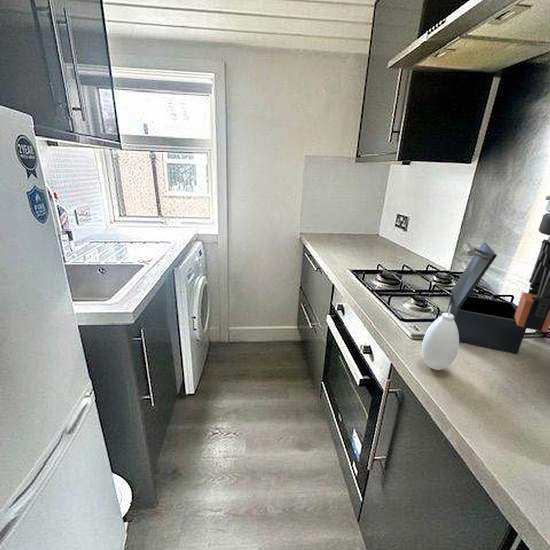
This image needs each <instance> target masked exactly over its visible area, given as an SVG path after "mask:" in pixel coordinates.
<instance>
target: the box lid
mask: <svg viewBox="0 0 550 550" xmlns="http://www.w3.org/2000/svg"><path fill="white" fill-rule="evenodd" d="M462 248H463V249H464V251H465V254H466V255H467V256H468V257H472V259H471V260H470V261H469V263H468V264H467V266H466V268H465V269H464V270H463V271H462V273H461V275H460V277H459V278H458V280H457V281H456V282H455V284H454V286H453V287H452V289H451V295H453V298H454V302H455V305H456V308H457V309H460V308H461V306H462V305H463V303H464V302H465V300H466V299H467V298H468V296H469V295H470V296H471V293H472V292H473V290H474V289H475V288H476V287H477V285H478V284H479V282H480V281H481V279H482V278H483V276H484V275H485V274H486V272H487V271H488V269H489V268H490V266H491V265H492V263H493V262H494V261H495V259H496V258H497V256H498V254H497V253H496V252H494V250H493V248H491V246H489V245H488V243H486V242H484V241H483V242H482V244H481V245H480V246H479V248H477V247H474V246H472V244H471V243H470V242H465V243H463V244H462Z"/></svg>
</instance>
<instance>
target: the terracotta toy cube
mask: <svg viewBox="0 0 550 550" xmlns="http://www.w3.org/2000/svg"><path fill="white" fill-rule="evenodd" d="M536 296H537V295H535V294H529V293H528V292H522V293H521V296H520V298H519V302H518V304H517V306H516V307H517V310H516V313H515V316H514V317H515V320H516V323H517V326H521V327H524V325H525V322H526V319H527V317H528V314H529V311H530V308H531V306H532V303H533V300H532V297H536ZM549 329H550V309H549V312H548V314H547V317H546V320H545V322H544V325H543V327H542V330H541V331H540V332H543V333H548V331H549Z"/></svg>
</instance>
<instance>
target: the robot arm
mask: <svg viewBox="0 0 550 550" xmlns="http://www.w3.org/2000/svg"><path fill="white" fill-rule="evenodd" d="M545 201H547V205H546V207H545V210H546V211H547V213H544V214H543V215H542V218H541V221H540V223H539V224H540V225H539V227H538V232H539V233H540V234H542V235H546V236H548V238H547V239H543V240H542V241H541V245H540V250H539V253H538V255H537V258H536V261H535V264H534V267H533V269H532V273H531V275H530V278H529V290H528V292H527V293H529V294H535V295H537V296H536V297H532V300H533V303H532V306H531V308H530V311H529V314H528V317H527V319H526V322H525V325H524V327H525V328H527V329H528V330H529V329H530V330H533V331H538V332H542V331H541V330H542V327H543V325H544V322H545V320H546V317H547V314H548V312H549V309H550V194H547V195H546V196H545Z"/></svg>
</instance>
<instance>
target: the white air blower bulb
mask: <svg viewBox="0 0 550 550" xmlns="http://www.w3.org/2000/svg"><path fill="white" fill-rule="evenodd" d="M447 310H448V309H447ZM450 310H451V305H450V307H449V310H448V313H447V312H442V314H441V315H440V316H439V317H437V318H436V319H435V320H434V321H433V322H432V323H431V324H430V326H429V327H428V328H427V330H426V332H425V334H424V336H423V339H422V342H421V355H422V358H423V361H424V363H425V364H426V365H427V367H429V368H430V369H432V370H434V371H442V370H446V369H447V368H448V367H450V366H451V365H452V364H453V363H454V361H455V359H456V358H457V356H458V352H459V348H460V342H459V334H458V329H457V325H456V323H455V321H454V320H453V319H454V316H453V315H452V314H450Z"/></svg>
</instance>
